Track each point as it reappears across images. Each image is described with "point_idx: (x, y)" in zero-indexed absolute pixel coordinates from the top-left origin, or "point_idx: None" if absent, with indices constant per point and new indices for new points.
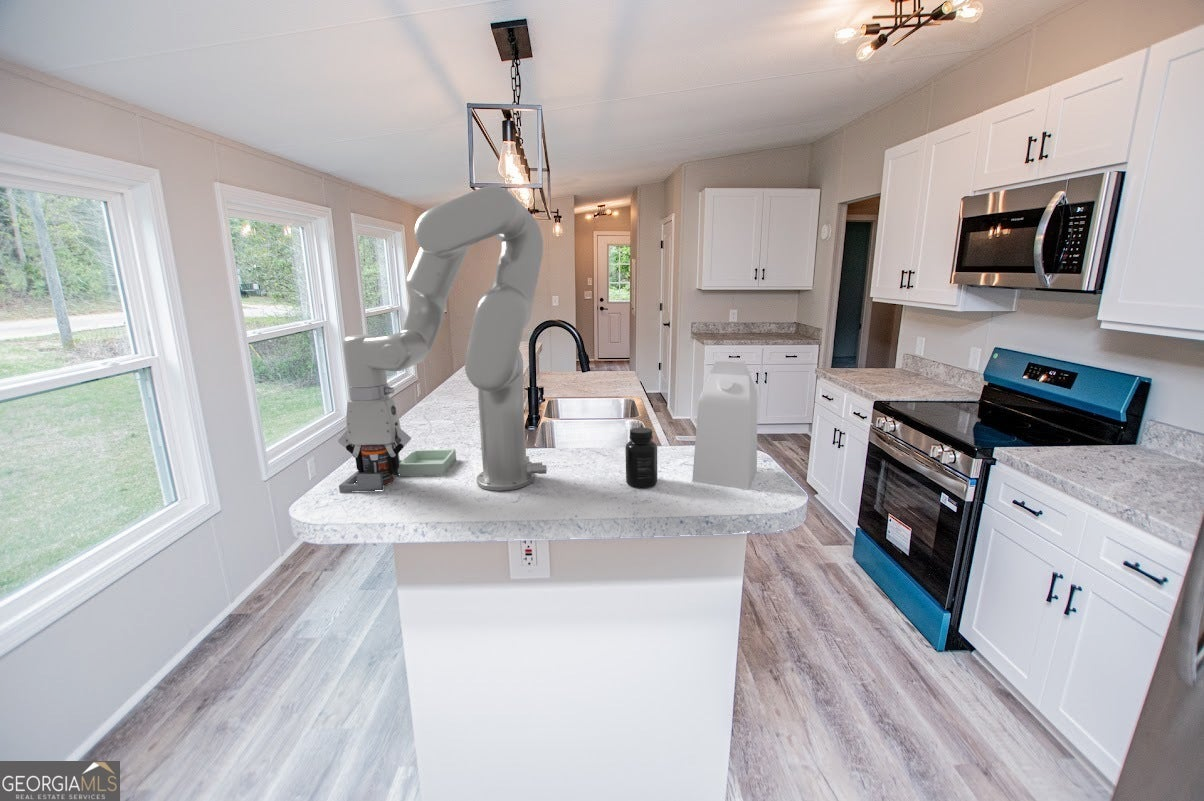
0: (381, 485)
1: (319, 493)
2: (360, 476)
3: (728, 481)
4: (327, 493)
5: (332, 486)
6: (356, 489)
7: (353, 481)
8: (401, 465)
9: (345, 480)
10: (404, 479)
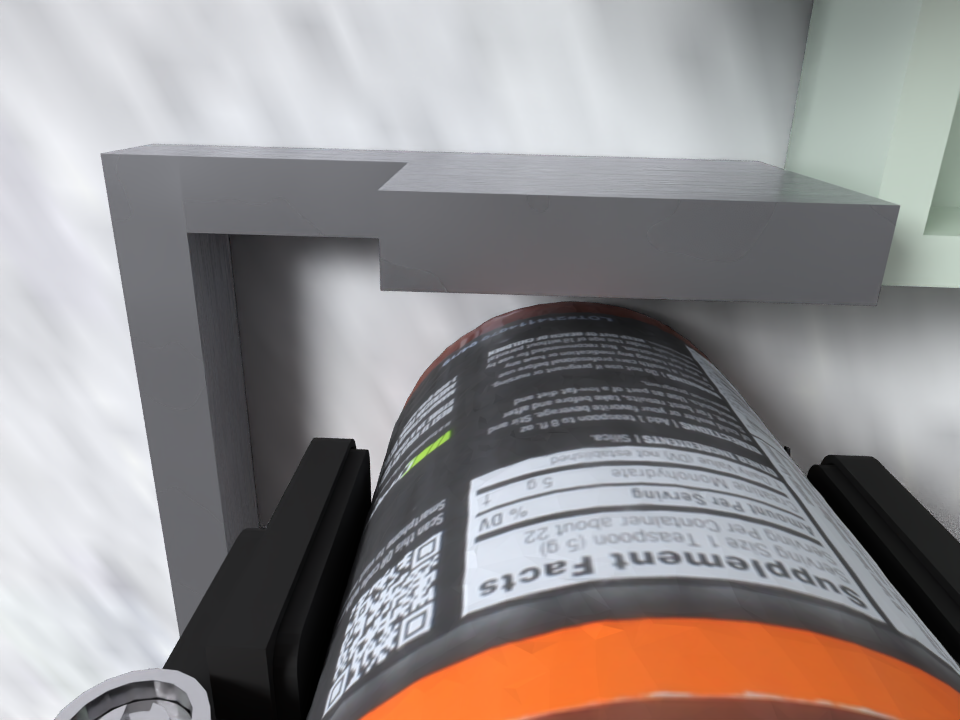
0: None
1: (25, 665)
2: None
3: None
4: (110, 672)
5: (27, 509)
6: None
7: (240, 497)
8: (902, 280)
9: (174, 597)
10: (861, 365)
